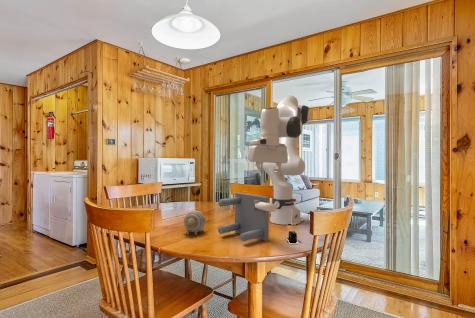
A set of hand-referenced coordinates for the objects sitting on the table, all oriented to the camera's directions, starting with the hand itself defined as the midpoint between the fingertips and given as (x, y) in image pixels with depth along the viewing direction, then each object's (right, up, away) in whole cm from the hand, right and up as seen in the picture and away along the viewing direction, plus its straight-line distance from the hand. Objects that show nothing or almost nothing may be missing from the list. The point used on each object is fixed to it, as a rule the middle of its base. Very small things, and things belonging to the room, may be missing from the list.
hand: (268, 172), depth 123 cm
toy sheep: (-35, -31, +14) cm, 49 cm away
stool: (-12, -31, +6) cm, 34 cm away
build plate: (+11, -33, +3) cm, 35 cm away
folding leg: (-2, -17, -1) cm, 17 cm away
